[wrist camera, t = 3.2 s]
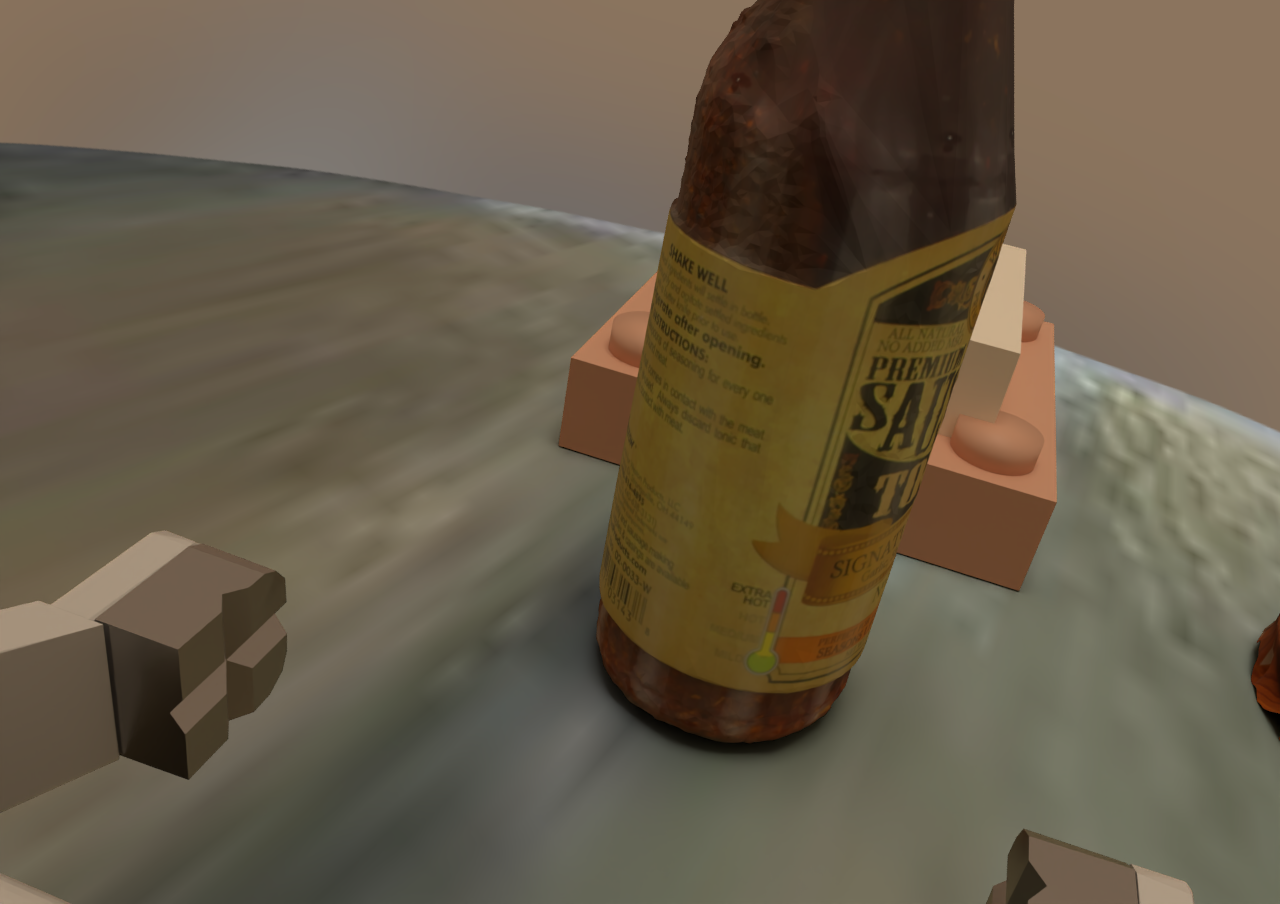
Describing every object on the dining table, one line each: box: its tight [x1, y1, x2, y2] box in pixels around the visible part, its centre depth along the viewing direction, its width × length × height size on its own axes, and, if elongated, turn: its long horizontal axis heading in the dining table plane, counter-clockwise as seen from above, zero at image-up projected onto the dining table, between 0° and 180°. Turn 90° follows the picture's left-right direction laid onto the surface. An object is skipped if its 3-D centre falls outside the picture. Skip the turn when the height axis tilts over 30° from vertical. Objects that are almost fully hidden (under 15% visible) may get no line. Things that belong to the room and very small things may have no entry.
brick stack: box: [559, 244, 1057, 591], centre depth 37 cm, size 14×14×6 cm
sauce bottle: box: [596, 0, 1016, 743], centre depth 21 cm, size 7×6×20 cm
